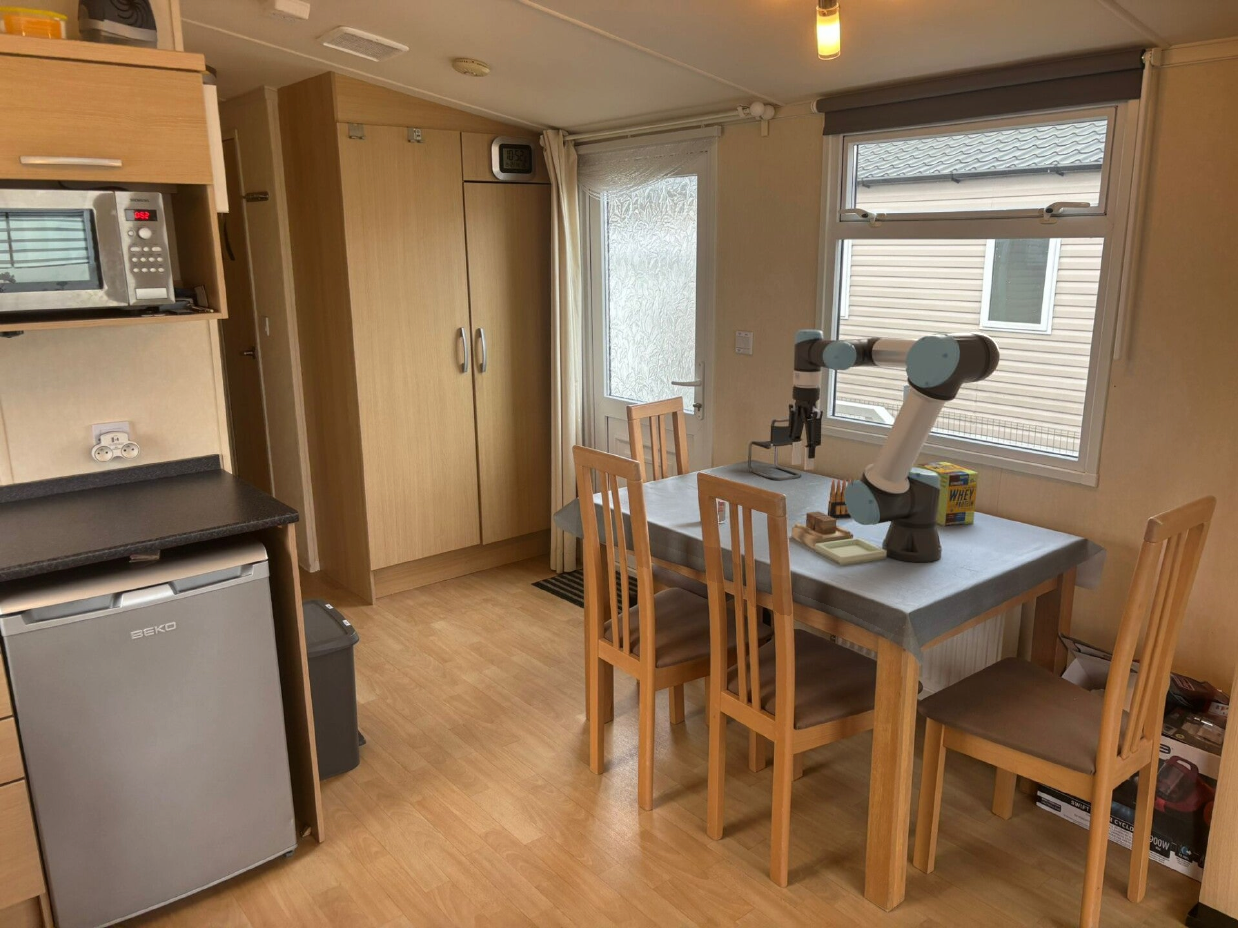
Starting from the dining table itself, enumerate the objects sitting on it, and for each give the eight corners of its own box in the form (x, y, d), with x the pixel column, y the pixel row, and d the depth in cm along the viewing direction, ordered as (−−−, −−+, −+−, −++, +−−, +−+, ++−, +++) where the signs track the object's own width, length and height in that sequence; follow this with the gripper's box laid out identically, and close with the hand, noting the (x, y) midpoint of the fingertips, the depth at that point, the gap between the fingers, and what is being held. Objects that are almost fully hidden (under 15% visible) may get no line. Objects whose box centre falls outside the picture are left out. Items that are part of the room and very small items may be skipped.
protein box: (944, 526, 266) (949, 475, 262) (912, 512, 280) (916, 463, 276) (974, 523, 269) (979, 472, 265) (941, 509, 283) (945, 461, 280)
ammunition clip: (859, 514, 278) (861, 476, 275) (862, 516, 276) (864, 478, 273) (827, 517, 275) (829, 478, 272) (829, 518, 273) (832, 480, 271)
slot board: (852, 544, 250) (853, 531, 249) (815, 549, 245) (816, 536, 244) (827, 532, 260) (827, 519, 259) (791, 537, 256) (791, 524, 255)
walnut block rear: (826, 528, 254) (826, 514, 253) (814, 530, 252) (814, 516, 251) (817, 524, 257) (818, 511, 256) (805, 526, 256) (806, 512, 255)
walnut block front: (835, 533, 250) (836, 519, 249) (823, 534, 248) (824, 520, 247) (827, 529, 253) (827, 515, 252) (815, 530, 252) (815, 517, 251)
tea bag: (699, 521, 271) (700, 489, 268) (720, 520, 272) (721, 487, 270) (703, 525, 267) (704, 492, 265) (725, 523, 269) (726, 490, 266)
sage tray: (886, 558, 238) (886, 550, 238) (841, 565, 233) (841, 557, 233) (857, 545, 249) (858, 537, 249) (814, 551, 244) (815, 543, 243)
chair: (775, 481, 317) (778, 419, 312) (747, 471, 332) (749, 411, 327) (805, 477, 322) (808, 416, 317) (776, 467, 337) (778, 408, 332)
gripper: (777, 382, 260) (773, 460, 265) (814, 391, 243) (810, 475, 248) (799, 380, 263) (795, 458, 268) (837, 389, 246) (833, 472, 251)
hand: (802, 466), depth 258 cm, fingers open, 6 cm apart
